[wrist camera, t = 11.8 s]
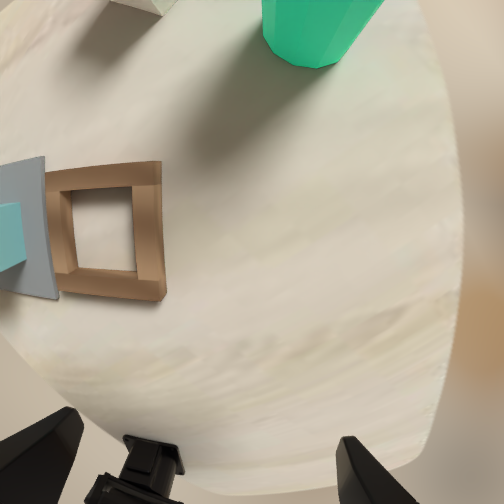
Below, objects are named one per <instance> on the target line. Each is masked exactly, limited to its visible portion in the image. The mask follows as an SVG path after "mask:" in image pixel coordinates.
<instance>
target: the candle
mask: <svg viewBox="0 0 504 504" xmlns="http://www.w3.org/2000/svg"><path fill="white" fill-rule="evenodd" d="M383 1H384V0H262V22H263V37H264V38H265V40H266V42H267V43H268V45H269V47H270V48H271V50H272V52H273V53H274V54H276V55H277V56H279V57H281V58H282V59H284V60H286V61H287V62H289V63H290V64H292V65H295V66H303V67H309V68H316V69H317V68H320V67H324V66H327V65H330V64H333V63H337V62H338V61H339V60H340V59H341V57H342V56H343V55H344V54H345V52H346V51H347V50H348V49H349V48H350V46H351V45H352V43H353V42H354V41H355V39H356V38H357V37H358V35H359V34H360V32H361V31H362V30H363V28H364V27H365V26H366V24H367V23H368V21H369V20H370V19H371V17H372V16H373V15H374V13H375V12H376V11H377V9H378V8H379V7H380V5H381V4H382V3H383Z"/></svg>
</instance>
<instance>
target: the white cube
mask: <svg viewBox="0 0 504 504" xmlns="http://www.w3.org/2000/svg"><path fill="white" fill-rule="evenodd" d="M109 1H112V2H116V3H120V4H124V5H128V6H131V7H135V8H138V9H141V10H145V11H148V12H151V13H154V14H157V15H160V16H164V15H165V14H166V13H167V11H168V10H169V9H170V8H171V7H172V6H173V4H174V3H175V2H176V1H177V0H109Z"/></svg>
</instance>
